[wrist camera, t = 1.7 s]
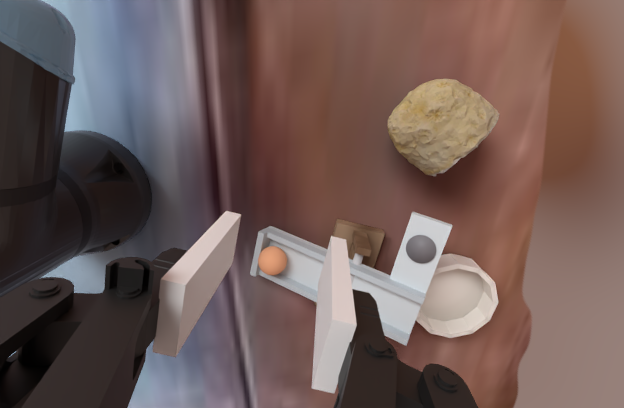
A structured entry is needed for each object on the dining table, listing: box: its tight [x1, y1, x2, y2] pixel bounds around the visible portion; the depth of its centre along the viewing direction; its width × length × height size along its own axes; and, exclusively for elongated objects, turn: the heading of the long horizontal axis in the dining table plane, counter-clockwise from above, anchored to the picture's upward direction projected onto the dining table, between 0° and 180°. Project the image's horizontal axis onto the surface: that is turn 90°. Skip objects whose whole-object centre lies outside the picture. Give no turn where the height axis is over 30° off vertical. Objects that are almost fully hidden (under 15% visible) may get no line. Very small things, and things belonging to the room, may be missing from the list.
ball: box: [258, 246, 287, 275], centre depth 40 cm, size 4×4×4 cm
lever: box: [250, 212, 452, 345], centre depth 38 cm, size 20×15×3 cm
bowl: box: [416, 254, 498, 338], centre depth 43 cm, size 10×10×3 cm
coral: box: [388, 79, 500, 176], centre depth 34 cm, size 10×10×10 cm
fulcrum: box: [314, 219, 385, 306], centre depth 41 cm, size 6×12×6 cm, turn 167°
